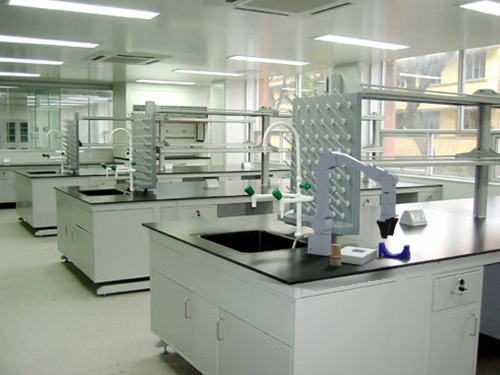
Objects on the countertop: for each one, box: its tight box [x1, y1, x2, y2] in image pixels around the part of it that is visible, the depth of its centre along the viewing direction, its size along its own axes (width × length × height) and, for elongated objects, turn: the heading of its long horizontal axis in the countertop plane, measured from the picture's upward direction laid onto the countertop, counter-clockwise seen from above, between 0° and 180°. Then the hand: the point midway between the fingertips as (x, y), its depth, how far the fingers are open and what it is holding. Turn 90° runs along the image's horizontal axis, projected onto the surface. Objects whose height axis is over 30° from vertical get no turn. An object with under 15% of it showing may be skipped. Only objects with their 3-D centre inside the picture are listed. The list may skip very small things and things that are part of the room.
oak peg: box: [329, 243, 342, 267], centre depth 194 cm, size 4×4×8 cm
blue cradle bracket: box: [377, 241, 411, 261], centre depth 208 cm, size 12×4×6 cm, turn 56°
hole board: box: [341, 245, 378, 266], centre depth 206 cm, size 13×17×3 cm
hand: (387, 237), depth 199 cm, fingers open, 7 cm apart
